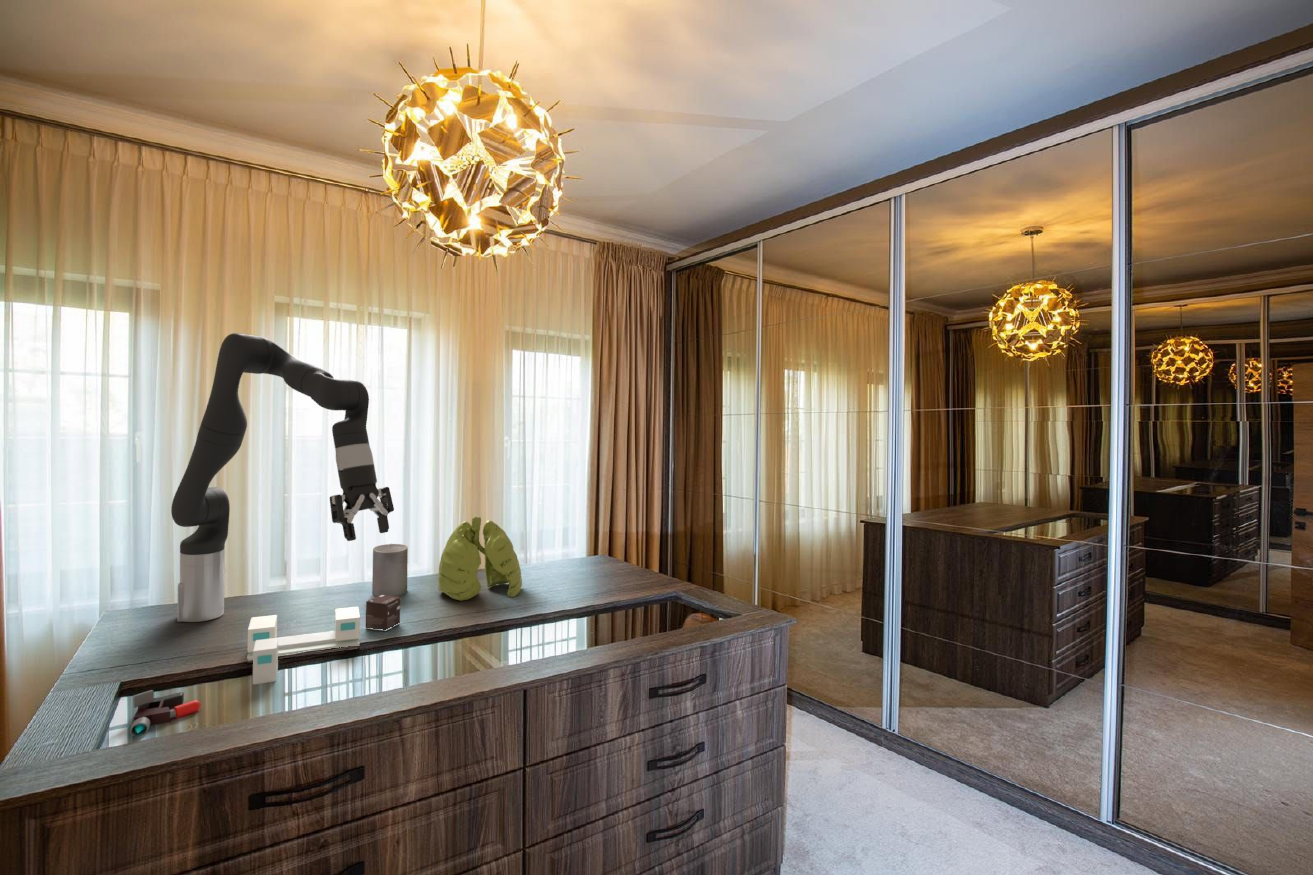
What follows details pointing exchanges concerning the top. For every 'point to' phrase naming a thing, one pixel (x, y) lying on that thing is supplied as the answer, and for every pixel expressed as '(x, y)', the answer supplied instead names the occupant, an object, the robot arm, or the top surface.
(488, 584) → the lungs
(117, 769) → the top surface
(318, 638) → the board
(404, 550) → the pillar candle
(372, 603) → the box
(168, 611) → the top surface
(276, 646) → the block
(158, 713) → the toy gun
